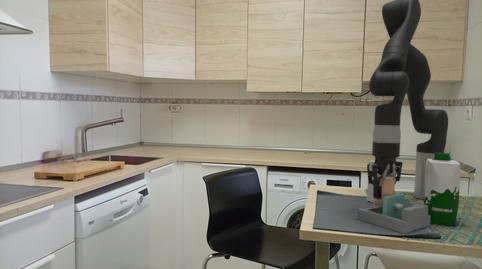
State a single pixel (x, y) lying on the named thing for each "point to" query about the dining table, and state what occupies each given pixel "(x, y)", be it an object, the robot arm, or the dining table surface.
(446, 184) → the milk carton
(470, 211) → the dining table surface
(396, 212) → the plate
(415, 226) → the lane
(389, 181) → the jar
